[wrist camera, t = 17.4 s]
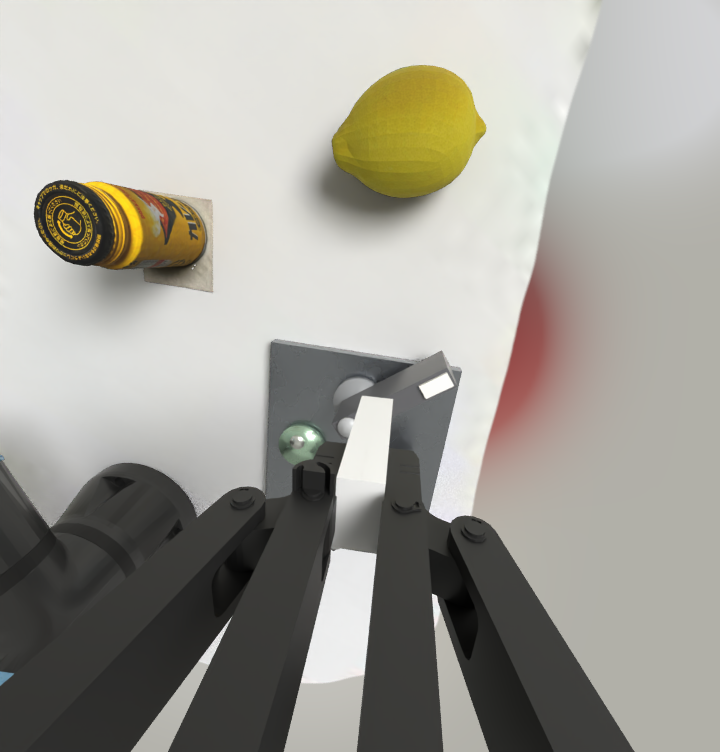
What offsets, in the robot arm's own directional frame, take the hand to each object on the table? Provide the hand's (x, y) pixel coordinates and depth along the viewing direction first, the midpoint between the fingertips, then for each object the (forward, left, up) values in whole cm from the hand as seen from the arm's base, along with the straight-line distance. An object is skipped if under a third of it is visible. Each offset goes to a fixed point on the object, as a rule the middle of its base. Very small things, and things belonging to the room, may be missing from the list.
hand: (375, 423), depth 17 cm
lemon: (+11, +11, -19) cm, 25 cm away
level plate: (-12, -7, -19) cm, 23 cm away
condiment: (-10, +21, -19) cm, 30 cm away
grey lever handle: (-3, -3, -17) cm, 18 cm away
